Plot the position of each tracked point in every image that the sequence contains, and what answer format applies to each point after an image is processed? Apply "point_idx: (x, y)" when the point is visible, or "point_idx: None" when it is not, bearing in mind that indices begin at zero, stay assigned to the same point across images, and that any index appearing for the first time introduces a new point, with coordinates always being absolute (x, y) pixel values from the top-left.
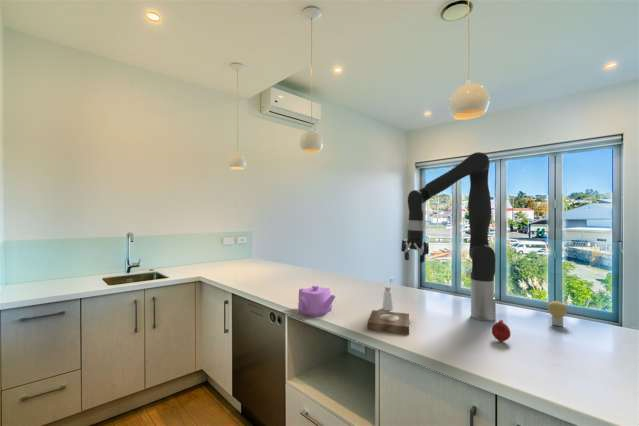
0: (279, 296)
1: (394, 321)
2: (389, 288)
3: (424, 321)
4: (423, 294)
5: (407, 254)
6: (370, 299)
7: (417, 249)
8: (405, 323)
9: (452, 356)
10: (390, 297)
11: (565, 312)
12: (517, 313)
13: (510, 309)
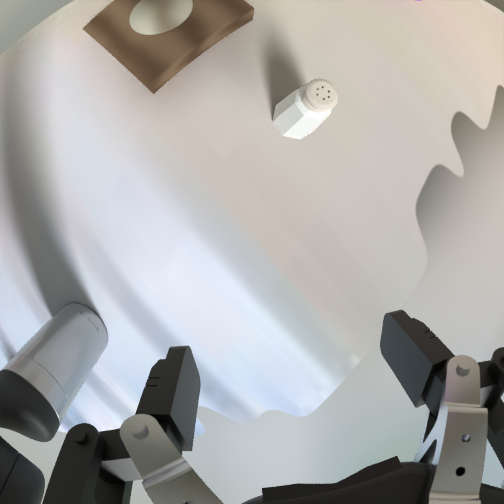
0: (487, 19)
1: (129, 10)
2: (305, 90)
3: (120, 136)
4: (339, 376)
5: (417, 370)
6: (413, 160)
7: (198, 490)
8: (100, 30)
9: (6, 68)
10: (288, 103)
11: None
12: (94, 409)
13: (120, 425)
